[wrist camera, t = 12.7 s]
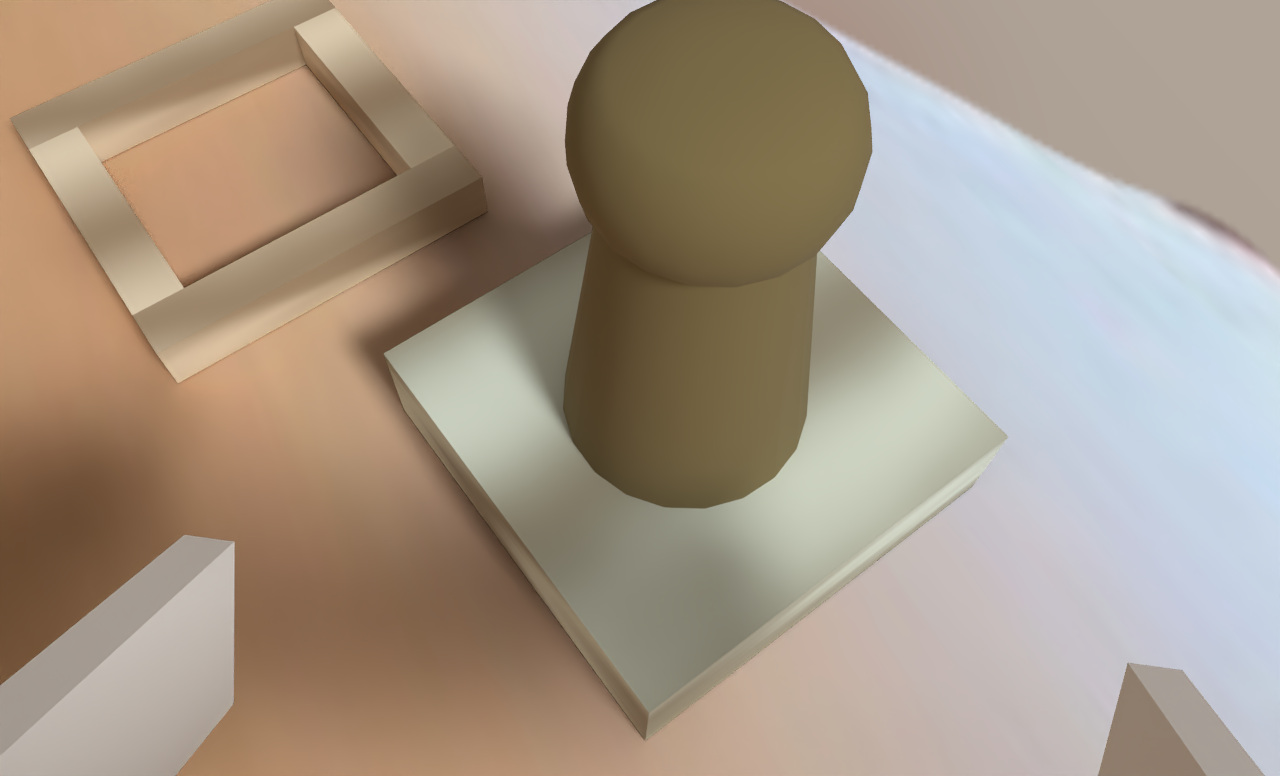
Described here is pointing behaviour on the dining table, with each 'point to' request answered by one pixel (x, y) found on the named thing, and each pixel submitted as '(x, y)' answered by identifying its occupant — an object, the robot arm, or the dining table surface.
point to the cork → (705, 240)
